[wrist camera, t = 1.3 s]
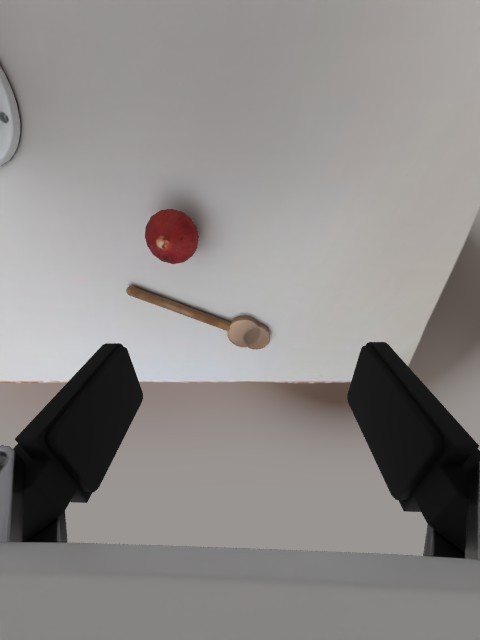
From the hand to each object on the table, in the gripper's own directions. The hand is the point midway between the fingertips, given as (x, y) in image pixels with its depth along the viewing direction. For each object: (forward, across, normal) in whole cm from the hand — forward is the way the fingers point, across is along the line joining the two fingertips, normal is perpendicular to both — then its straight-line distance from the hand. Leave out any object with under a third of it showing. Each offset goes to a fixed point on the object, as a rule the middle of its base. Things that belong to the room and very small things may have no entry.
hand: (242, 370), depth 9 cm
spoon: (+24, +6, +10) cm, 27 cm away
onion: (+24, +8, -2) cm, 25 cm away
